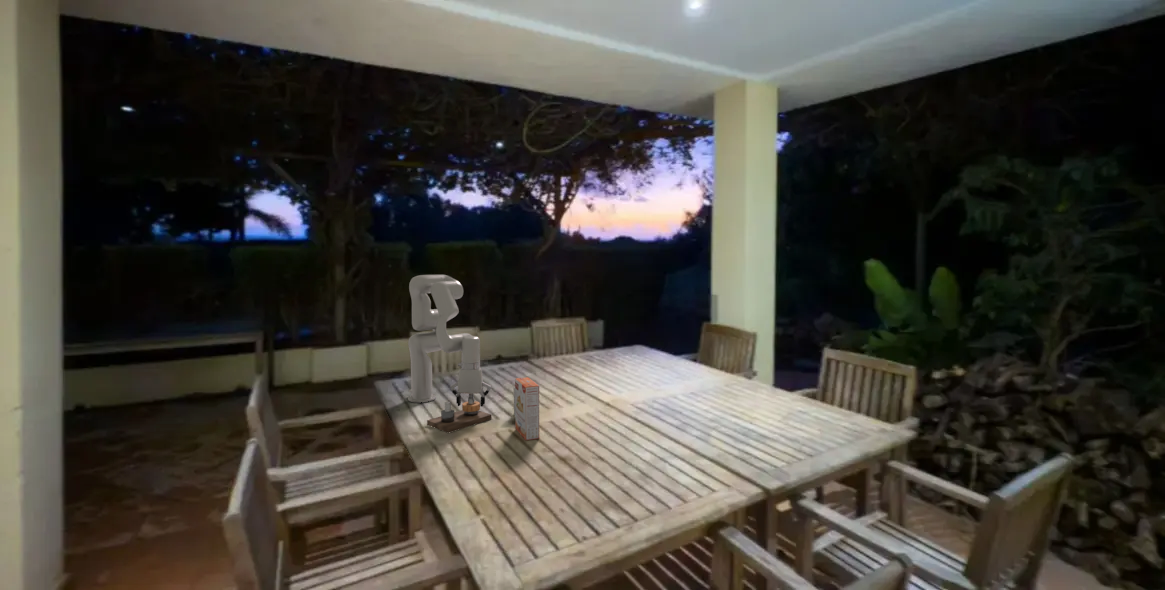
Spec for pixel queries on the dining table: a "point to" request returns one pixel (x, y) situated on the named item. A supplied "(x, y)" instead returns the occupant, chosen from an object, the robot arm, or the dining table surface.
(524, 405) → the cracker box
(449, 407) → the gray oval domed knob
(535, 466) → the dining table surface
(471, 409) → the ring
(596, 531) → the dining table surface
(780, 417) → the dining table surface
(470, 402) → the hub
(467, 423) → the base board
